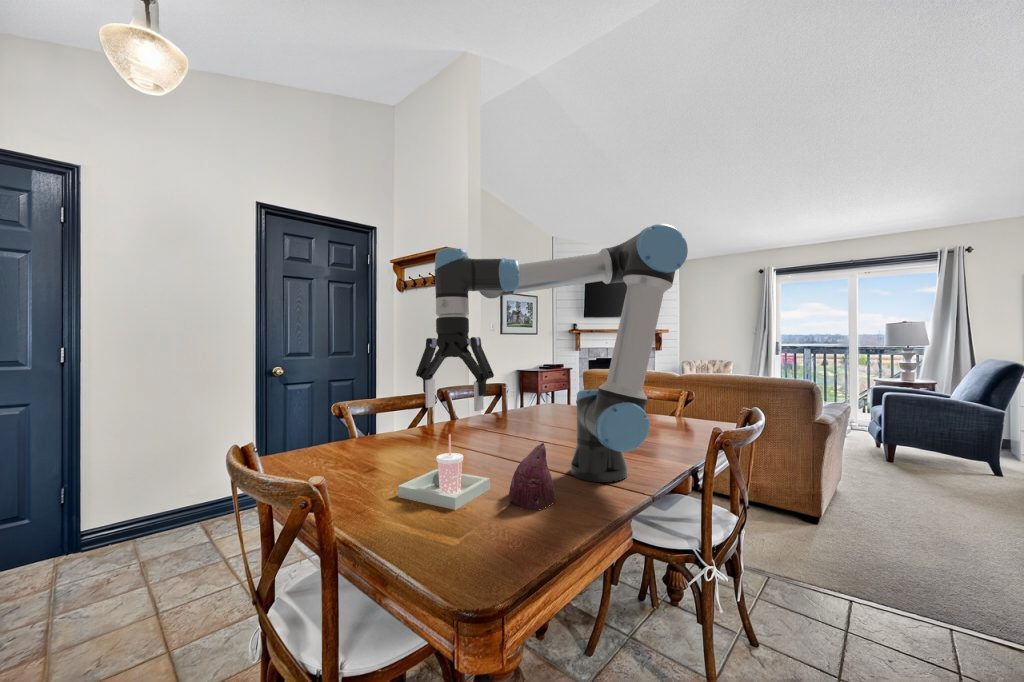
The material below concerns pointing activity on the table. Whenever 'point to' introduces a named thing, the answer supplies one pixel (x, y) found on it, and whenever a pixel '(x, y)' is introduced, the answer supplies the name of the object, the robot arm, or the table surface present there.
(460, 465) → the beverage cup
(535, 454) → the vegetable
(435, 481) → the ball
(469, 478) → the tray
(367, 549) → the table surface
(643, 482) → the table surface
